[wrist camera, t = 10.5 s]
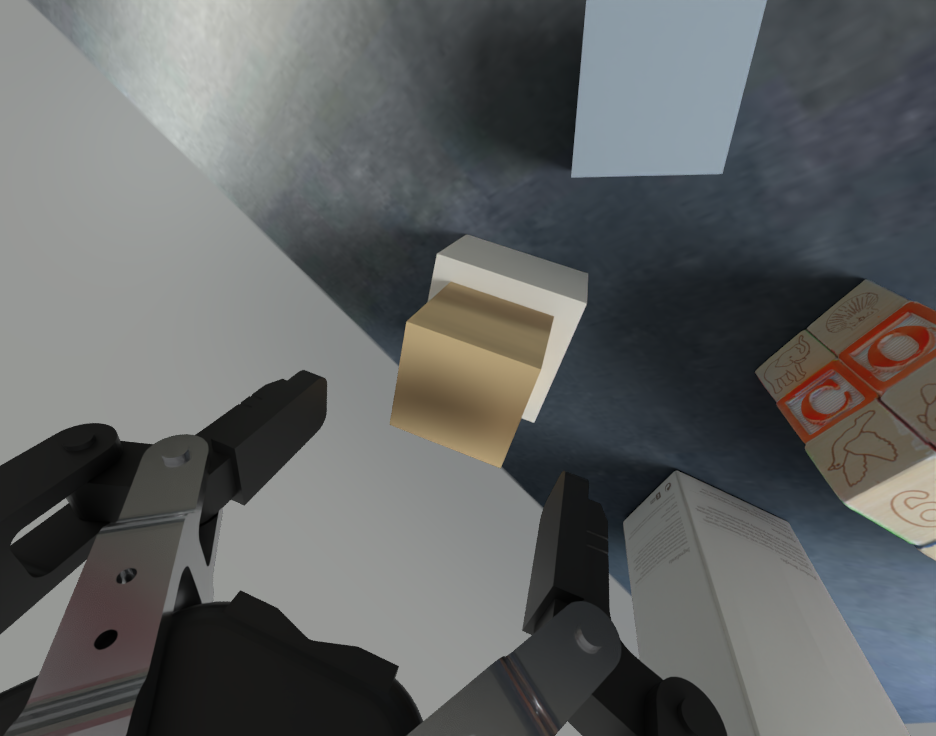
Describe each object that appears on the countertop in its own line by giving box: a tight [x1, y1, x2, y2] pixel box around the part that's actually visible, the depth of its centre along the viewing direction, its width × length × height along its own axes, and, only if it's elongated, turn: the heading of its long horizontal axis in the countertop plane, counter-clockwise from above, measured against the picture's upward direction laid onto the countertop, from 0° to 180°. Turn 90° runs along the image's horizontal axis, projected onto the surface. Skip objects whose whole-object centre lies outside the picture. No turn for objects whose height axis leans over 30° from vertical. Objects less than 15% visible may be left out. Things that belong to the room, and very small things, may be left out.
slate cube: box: [571, 0, 767, 177], centre depth 15 cm, size 5×5×5 cm
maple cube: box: [390, 282, 554, 468], centre depth 17 cm, size 5×5×5 cm
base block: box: [428, 234, 588, 423], centre depth 21 cm, size 7×7×5 cm
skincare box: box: [623, 471, 910, 736], centre depth 20 cm, size 8×7×16 cm
